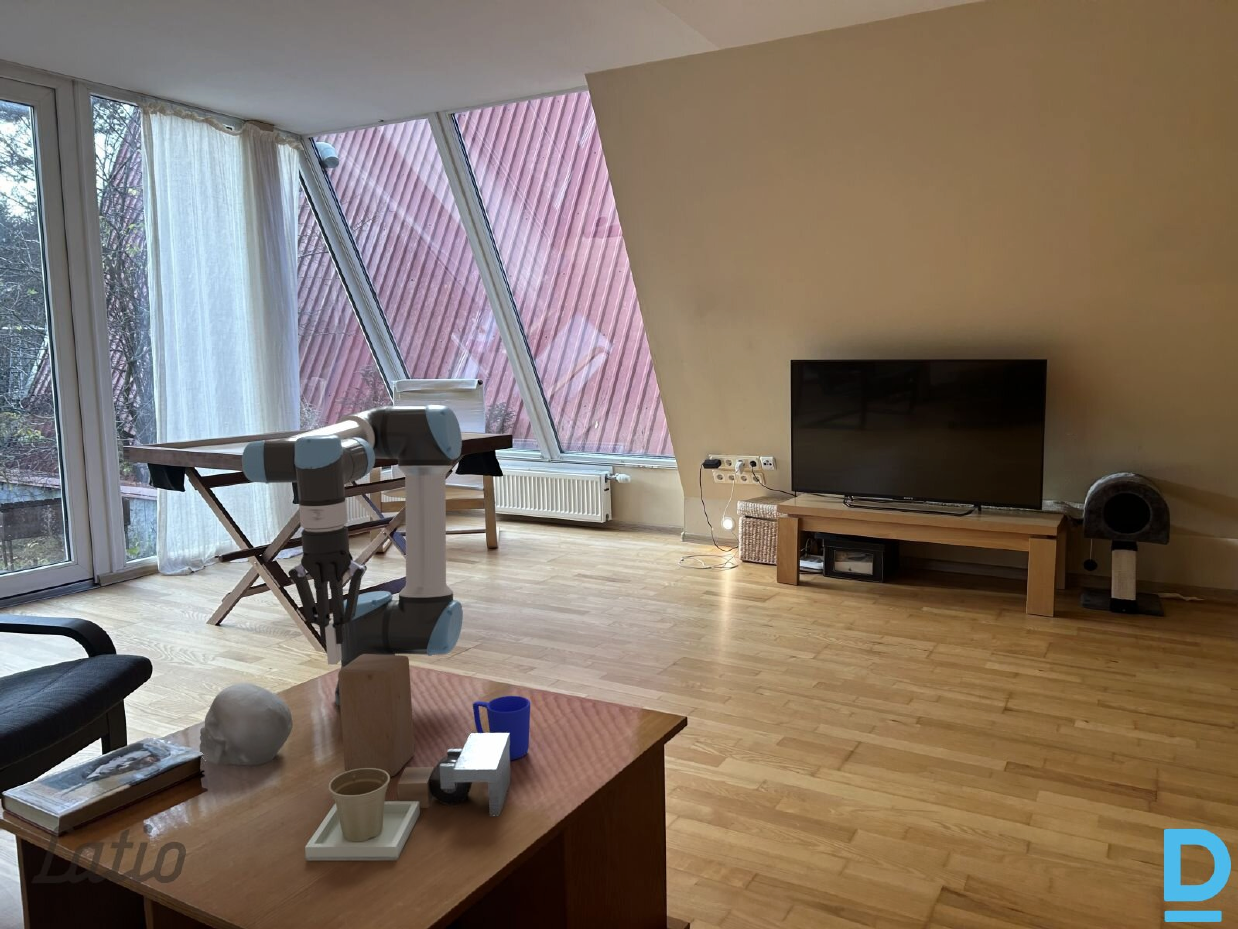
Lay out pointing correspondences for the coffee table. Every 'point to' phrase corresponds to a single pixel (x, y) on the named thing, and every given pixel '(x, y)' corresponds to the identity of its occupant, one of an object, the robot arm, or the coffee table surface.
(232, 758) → the skull
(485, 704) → the mug
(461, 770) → the caster wheel
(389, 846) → the tray
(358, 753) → the wooden block
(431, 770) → the block
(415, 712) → the coffee table surface
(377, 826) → the flower pot
